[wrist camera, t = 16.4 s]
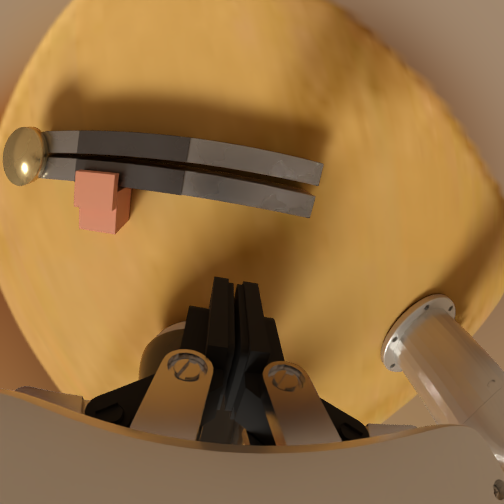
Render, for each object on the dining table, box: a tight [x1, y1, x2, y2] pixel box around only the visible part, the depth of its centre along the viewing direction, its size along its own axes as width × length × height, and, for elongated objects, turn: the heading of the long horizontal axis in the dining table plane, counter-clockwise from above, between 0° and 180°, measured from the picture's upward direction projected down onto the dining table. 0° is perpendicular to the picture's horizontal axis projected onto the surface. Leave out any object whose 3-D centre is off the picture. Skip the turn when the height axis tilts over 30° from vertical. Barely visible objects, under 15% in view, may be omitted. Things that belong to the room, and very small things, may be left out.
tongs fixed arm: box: [3, 127, 315, 218], centre depth 17 cm, size 24×4×4 cm, turn 78°
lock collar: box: [74, 170, 132, 234], centre depth 17 cm, size 3×4×4 cm
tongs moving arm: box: [42, 131, 324, 186], centre depth 17 cm, size 22×2×3 cm, turn 79°
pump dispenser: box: [139, 321, 244, 445], centre depth 19 cm, size 10×10×15 cm
